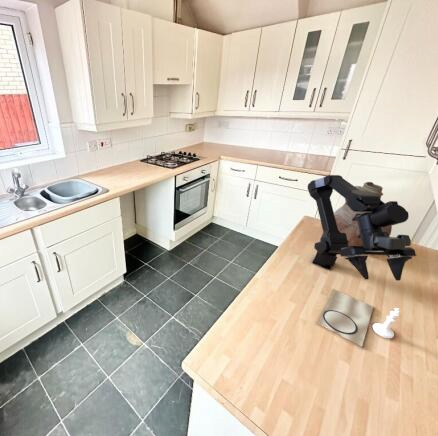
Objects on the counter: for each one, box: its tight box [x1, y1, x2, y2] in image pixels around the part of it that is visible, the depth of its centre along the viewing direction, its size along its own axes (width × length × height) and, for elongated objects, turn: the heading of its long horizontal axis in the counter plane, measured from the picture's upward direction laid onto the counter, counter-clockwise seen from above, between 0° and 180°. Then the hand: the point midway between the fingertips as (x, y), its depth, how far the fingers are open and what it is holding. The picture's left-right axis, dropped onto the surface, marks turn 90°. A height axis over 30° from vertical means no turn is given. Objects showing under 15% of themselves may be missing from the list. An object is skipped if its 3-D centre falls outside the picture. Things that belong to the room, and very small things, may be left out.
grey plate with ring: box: [318, 289, 374, 348], centre depth 79 cm, size 11×20×1 cm, turn 134°
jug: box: [333, 181, 393, 246], centre depth 107 cm, size 22×22×30 cm
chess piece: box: [372, 307, 401, 339], centre depth 72 cm, size 5×5×10 cm
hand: (382, 280), depth 75 cm, fingers open, 9 cm apart
